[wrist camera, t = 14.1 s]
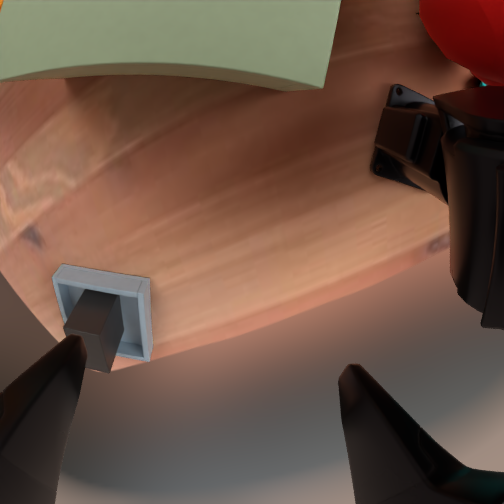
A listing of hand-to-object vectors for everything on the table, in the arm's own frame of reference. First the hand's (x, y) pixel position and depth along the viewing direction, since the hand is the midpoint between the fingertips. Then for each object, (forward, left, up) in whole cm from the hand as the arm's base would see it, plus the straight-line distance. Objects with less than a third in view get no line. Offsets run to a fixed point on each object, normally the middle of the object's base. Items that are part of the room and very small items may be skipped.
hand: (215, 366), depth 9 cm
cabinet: (+5, -15, -12) cm, 20 cm away
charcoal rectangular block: (+9, +10, -12) cm, 17 cm away
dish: (+9, +10, -12) cm, 18 cm away
